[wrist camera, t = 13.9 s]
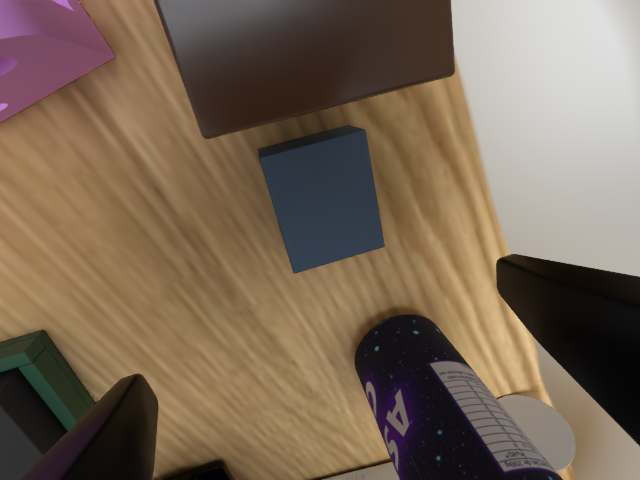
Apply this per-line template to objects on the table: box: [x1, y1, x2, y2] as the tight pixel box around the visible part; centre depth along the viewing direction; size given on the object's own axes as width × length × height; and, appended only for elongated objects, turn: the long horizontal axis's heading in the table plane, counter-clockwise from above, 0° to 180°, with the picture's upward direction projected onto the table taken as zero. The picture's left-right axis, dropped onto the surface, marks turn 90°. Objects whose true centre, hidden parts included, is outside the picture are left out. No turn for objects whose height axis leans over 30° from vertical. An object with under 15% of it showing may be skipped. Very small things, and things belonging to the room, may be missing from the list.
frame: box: [0, 330, 95, 431], centre depth 18 cm, size 8×7×2 cm
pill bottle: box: [355, 315, 563, 480], centre depth 17 cm, size 6×6×12 cm
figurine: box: [498, 395, 576, 472], centre depth 27 cm, size 5×5×12 cm
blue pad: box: [258, 125, 385, 273], centre depth 16 cm, size 6×4×2 cm
